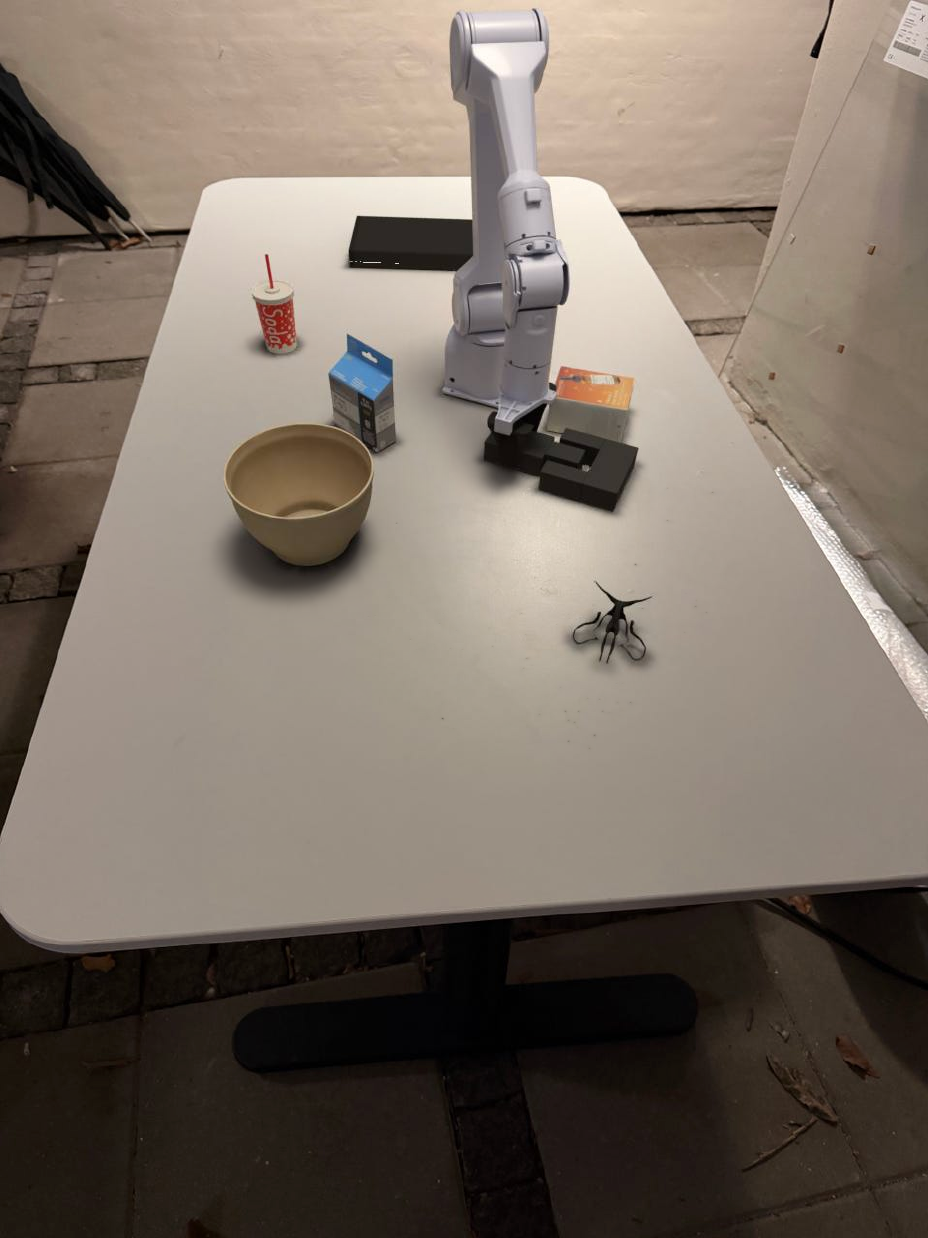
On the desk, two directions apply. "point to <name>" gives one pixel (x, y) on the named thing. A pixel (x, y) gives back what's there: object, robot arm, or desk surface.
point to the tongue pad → (537, 453)
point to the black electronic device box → (411, 242)
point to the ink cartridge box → (364, 395)
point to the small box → (590, 403)
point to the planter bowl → (301, 489)
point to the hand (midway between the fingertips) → (518, 448)
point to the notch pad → (591, 471)
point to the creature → (614, 622)
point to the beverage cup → (276, 313)
